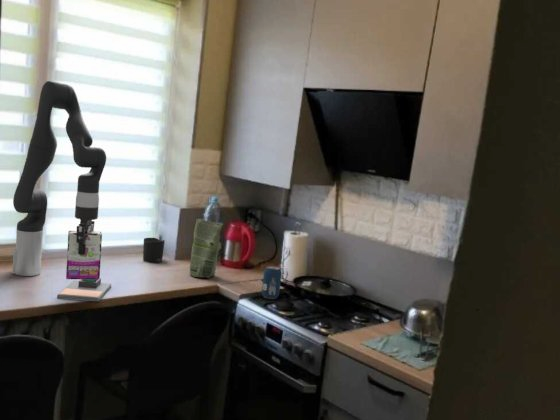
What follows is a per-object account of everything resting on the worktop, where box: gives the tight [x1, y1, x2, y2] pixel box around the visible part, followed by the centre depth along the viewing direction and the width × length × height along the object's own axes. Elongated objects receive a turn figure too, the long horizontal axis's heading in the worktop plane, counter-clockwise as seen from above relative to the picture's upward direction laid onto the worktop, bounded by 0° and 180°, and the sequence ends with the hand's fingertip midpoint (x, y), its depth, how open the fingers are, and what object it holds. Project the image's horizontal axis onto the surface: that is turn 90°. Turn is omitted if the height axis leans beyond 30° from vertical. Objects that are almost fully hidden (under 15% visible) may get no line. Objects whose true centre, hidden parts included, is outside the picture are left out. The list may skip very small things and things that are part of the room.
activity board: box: [56, 278, 112, 302], centre depth 205 cm, size 14×19×3 cm
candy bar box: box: [65, 230, 103, 280], centre depth 198 cm, size 11×5×16 cm, turn 111°
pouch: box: [189, 218, 224, 279], centre depth 244 cm, size 11×12×25 cm
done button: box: [84, 279, 96, 282], centre depth 210 cm, size 4×4×2 cm
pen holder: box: [142, 237, 165, 264], centre depth 263 cm, size 9×9×10 cm
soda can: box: [261, 265, 282, 300], centre depth 224 cm, size 7×7×12 cm
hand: (84, 252), depth 198 cm, fingers closed on candy bar box, 5 cm apart
